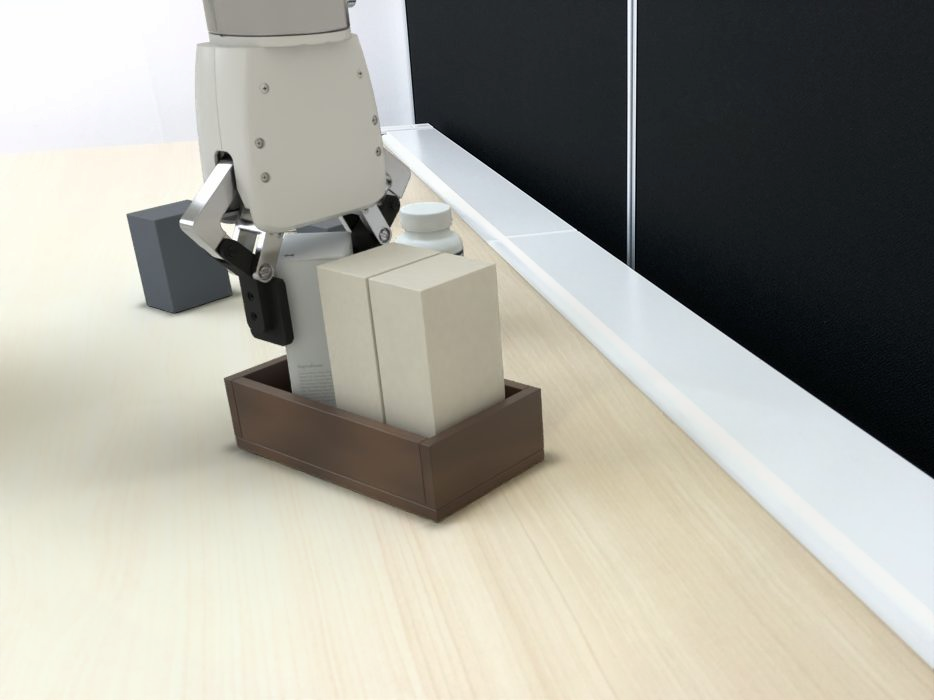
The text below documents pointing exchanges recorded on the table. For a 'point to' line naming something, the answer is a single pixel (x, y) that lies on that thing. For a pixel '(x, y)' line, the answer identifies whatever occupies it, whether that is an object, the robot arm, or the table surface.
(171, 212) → the grey block back
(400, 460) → the brown wooden open box
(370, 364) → the cream box
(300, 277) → the cosmetic box
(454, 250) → the pill bottle
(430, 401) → the cream box
